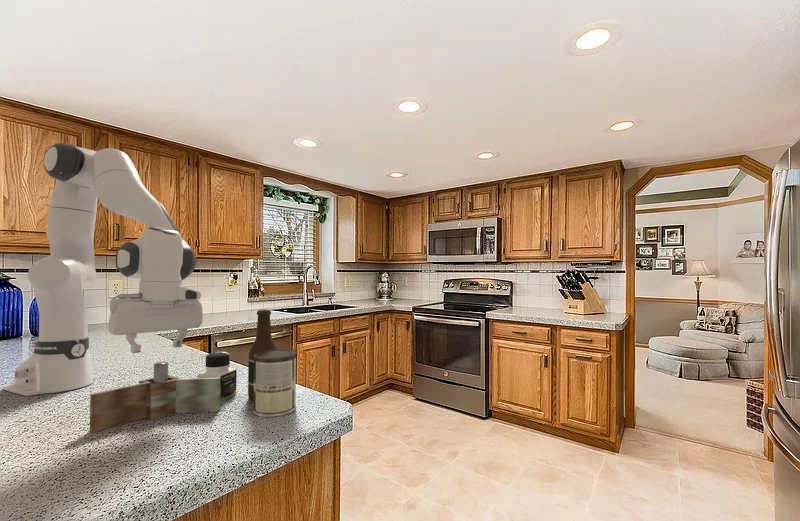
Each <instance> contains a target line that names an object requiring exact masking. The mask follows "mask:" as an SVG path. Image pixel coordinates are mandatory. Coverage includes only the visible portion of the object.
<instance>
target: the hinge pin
mask: <svg viewBox="0 0 800 521" xmlns="http://www.w3.org/2000/svg"><path fill="white" fill-rule="evenodd" d="M168 375H169V361H160V362H155V363H153V378H154V384H155V383H159V382H164V381H168Z"/></svg>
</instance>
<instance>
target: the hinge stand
mask: <svg viewBox="0 0 800 521" xmlns="http://www.w3.org/2000/svg"><path fill="white" fill-rule="evenodd" d="M89 397H90V399H89V433H91V434H92V433H93V434H94V433H95V432H99V431H102V430H107V429H110V428H113V427H116V426H120V425H124V424H128V423H131V422H135V421H137V420H141V419H145V418H147V419H149V420H151V421H152V420H157V419H159V418H163V417H166V416H169V415H172V414H177V413H178V414H180V413H183V414H184V413H205V412H207V413H208V412H210V413H211V412H220V411H221V401H220V397H221V378H198V377H195V378H194V377H193V378H192V377H191V378H187V377H186V378H180V377H177V376H173V375H169V374H168V381H164V382H159V383H155V384H154V377H150V378H145V379H142V380H139V381H138V383H136V384H131V385H128V386H127V385H126V386H122V387H118V388H113V389H109V390H103V391H99V392H95V393H91V394H90V395H89Z"/></svg>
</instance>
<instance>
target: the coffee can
mask: <svg viewBox="0 0 800 521" xmlns="http://www.w3.org/2000/svg"><path fill="white" fill-rule="evenodd" d="M253 358H254V402H253V411H252V412H253V414H254V415H255V416H256V417H261V418H276V417H275V416H277V417H282V416H286V415H289V414H291V413H292V412H294V411H295V410H296V408H297V406H296V400H297V399H296V397H297V396H296V394H297V393H296V392H297V389H296V388H297V386H296V384H297V383H296V379H297V378H296V377H297V374H296V372H297V351H295V350H292V349H287V348H286V349H284V348H282V349H280V348H279V349H278V348H277V349H276V350H266V351H261V352H258V353H255V354H254V355H253Z"/></svg>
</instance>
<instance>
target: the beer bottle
mask: <svg viewBox="0 0 800 521" xmlns="http://www.w3.org/2000/svg"><path fill="white" fill-rule="evenodd" d="M256 315H257V323H256V324H257V325H256V334H255V335H256V336H255V339H254V340H253V342H252V344H251V345H250V348H249V351H248V366H247V368H248V369H247V373H248V374H247V375H248V376H247V396H248V400H249V401H250V402H251V403H254V358H253V355H254V354H255V353H258V352H261V351H266V350H276V349H278V347H277V344H276V343H275V342H274V340H273V337H272V330H271V329H272V325H271V315H272V312H271V310H270V309H259V310H257V312H256Z"/></svg>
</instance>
